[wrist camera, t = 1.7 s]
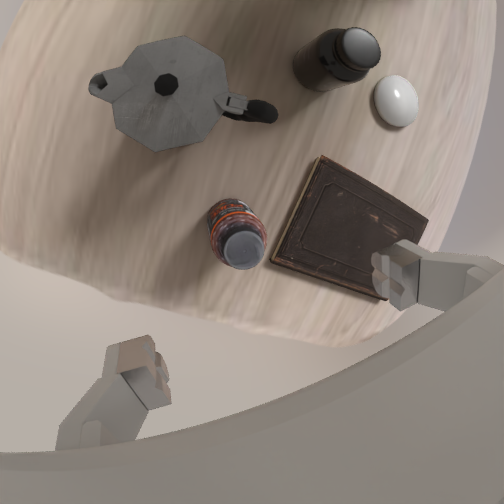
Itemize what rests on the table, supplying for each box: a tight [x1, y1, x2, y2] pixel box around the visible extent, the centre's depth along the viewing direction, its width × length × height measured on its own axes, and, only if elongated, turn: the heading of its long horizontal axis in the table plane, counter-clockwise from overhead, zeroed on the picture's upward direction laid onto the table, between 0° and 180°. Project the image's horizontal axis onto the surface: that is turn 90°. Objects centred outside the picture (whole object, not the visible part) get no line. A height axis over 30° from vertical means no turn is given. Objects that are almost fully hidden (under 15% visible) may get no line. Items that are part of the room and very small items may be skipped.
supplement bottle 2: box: [293, 27, 381, 92], centre depth 28 cm, size 7×7×12 cm
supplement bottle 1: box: [207, 199, 267, 270], centre depth 34 cm, size 6×6×11 cm
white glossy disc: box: [374, 75, 419, 127], centre depth 37 cm, size 8×8×1 cm
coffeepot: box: [89, 36, 278, 152], centre depth 25 cm, size 15×9×18 cm, turn 77°
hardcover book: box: [269, 155, 429, 301], centre depth 44 cm, size 16×23×2 cm
